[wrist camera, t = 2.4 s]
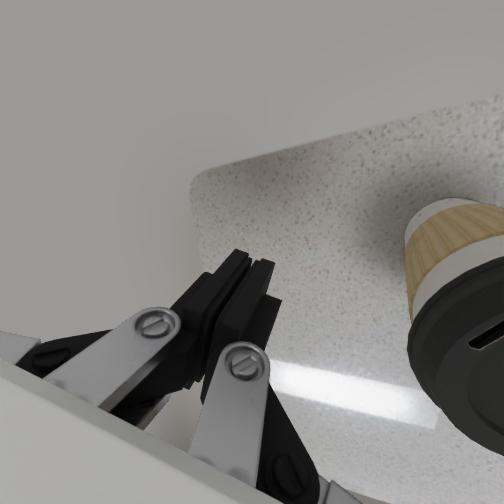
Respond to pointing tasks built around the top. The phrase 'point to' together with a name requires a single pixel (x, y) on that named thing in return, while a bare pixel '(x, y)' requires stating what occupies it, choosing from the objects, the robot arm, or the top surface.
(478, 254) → the coffee cup
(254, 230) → the top surface
